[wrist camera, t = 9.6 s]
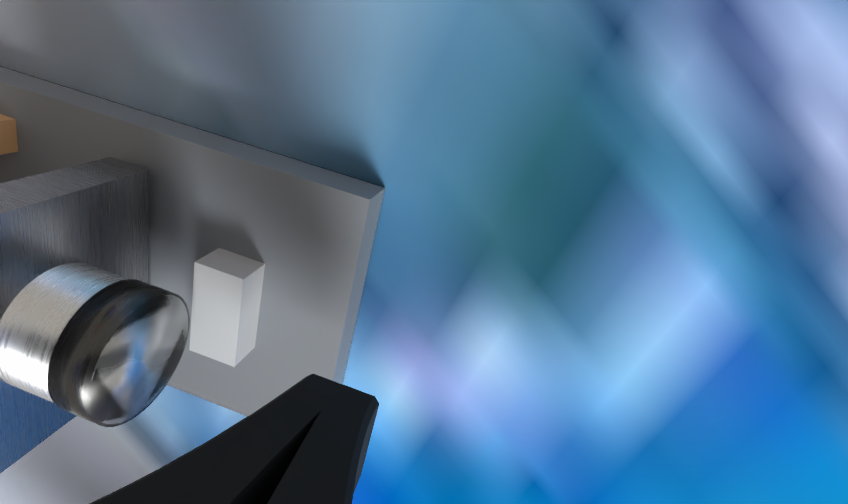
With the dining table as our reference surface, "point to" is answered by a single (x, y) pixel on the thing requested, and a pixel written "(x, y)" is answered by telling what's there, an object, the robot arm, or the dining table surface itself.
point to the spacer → (8, 135)
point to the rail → (221, 237)
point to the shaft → (80, 303)
